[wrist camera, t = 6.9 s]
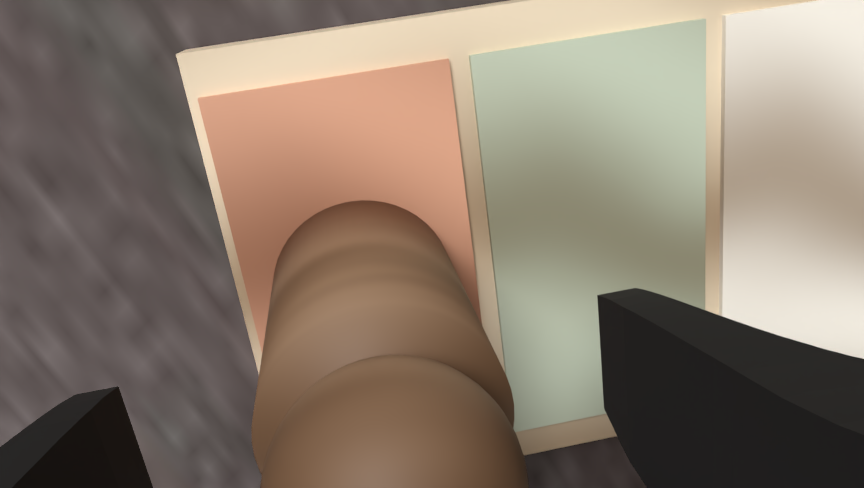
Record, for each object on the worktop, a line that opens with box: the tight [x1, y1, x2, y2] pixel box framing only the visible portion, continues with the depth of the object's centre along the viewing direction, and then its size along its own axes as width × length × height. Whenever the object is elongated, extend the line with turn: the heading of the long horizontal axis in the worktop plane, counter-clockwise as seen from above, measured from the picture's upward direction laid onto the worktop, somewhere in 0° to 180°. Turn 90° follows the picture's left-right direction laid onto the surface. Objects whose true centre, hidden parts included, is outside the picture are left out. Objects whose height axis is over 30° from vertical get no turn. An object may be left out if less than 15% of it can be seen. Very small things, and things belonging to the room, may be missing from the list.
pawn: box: [252, 200, 529, 488], centre depth 11 cm, size 4×4×8 cm
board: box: [176, 0, 864, 455], centre depth 15 cm, size 10×15×1 cm, turn 98°
